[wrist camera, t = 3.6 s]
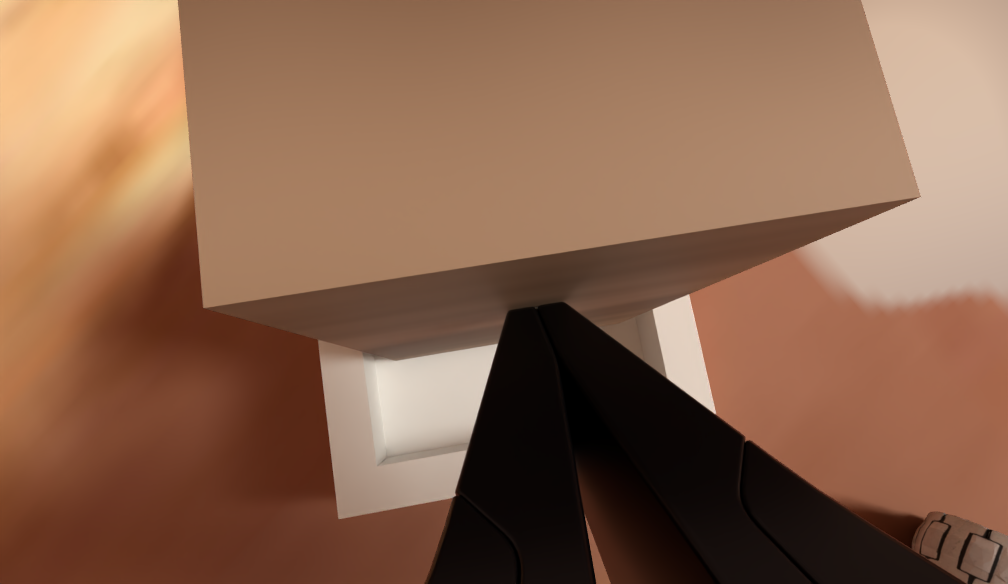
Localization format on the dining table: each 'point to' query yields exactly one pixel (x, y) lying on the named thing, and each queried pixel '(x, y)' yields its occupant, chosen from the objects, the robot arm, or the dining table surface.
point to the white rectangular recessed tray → (454, 408)
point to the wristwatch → (963, 548)
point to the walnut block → (519, 156)
